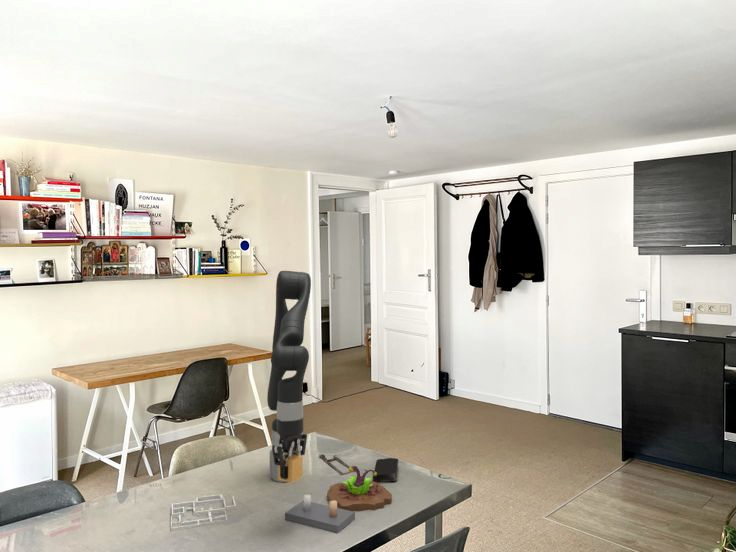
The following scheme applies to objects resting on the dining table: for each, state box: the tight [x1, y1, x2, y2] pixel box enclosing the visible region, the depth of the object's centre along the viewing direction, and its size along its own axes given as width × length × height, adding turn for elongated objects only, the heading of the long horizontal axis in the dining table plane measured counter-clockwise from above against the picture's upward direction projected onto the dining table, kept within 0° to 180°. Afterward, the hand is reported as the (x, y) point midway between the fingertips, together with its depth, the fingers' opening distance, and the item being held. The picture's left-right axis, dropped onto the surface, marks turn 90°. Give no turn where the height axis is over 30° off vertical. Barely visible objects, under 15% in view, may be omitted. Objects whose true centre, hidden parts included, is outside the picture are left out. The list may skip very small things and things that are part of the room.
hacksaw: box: [319, 454, 368, 476], centre depth 212 cm, size 24×10×2 cm, turn 28°
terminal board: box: [284, 494, 356, 534], centre depth 167 cm, size 18×10×6 cm, turn 63°
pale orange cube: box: [278, 454, 303, 484], centre depth 161 cm, size 5×5×6 cm
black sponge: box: [372, 457, 399, 483], centre depth 202 cm, size 16×8×4 cm, turn 175°
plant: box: [326, 465, 393, 512], centre depth 181 cm, size 20×20×11 cm
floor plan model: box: [170, 493, 237, 532], centre depth 174 cm, size 19×25×2 cm
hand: (290, 474), depth 161 cm, fingers closed on pale orange cube, 5 cm apart
